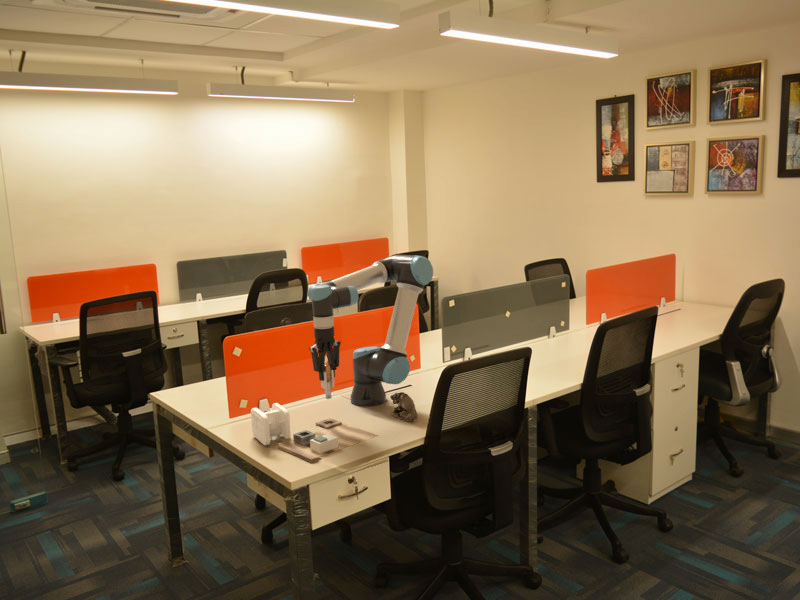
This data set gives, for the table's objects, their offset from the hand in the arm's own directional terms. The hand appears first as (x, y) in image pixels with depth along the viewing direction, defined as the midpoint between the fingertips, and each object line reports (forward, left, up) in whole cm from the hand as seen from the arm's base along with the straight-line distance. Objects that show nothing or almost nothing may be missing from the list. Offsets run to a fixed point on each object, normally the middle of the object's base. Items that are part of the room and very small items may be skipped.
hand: (327, 387), depth 261 cm
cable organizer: (+22, -6, -16) cm, 28 cm away
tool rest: (0, 0, -16) cm, 16 cm away
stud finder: (+16, +18, -15) cm, 29 cm away
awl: (0, 0, -4) cm, 4 cm away
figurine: (-27, +14, -16) cm, 34 cm away
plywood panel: (+10, +13, -16) cm, 23 cm away
